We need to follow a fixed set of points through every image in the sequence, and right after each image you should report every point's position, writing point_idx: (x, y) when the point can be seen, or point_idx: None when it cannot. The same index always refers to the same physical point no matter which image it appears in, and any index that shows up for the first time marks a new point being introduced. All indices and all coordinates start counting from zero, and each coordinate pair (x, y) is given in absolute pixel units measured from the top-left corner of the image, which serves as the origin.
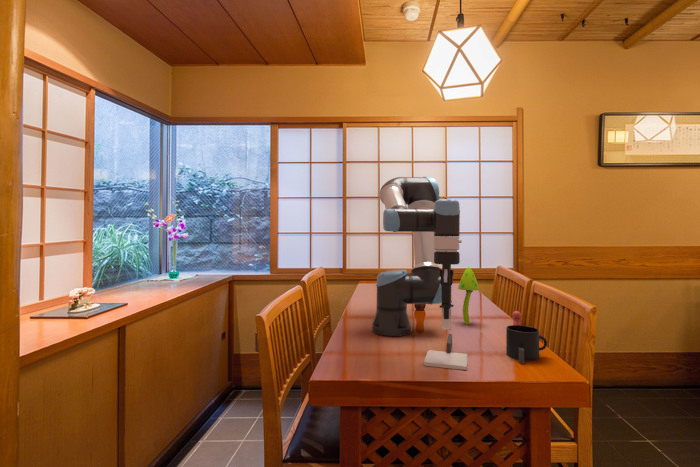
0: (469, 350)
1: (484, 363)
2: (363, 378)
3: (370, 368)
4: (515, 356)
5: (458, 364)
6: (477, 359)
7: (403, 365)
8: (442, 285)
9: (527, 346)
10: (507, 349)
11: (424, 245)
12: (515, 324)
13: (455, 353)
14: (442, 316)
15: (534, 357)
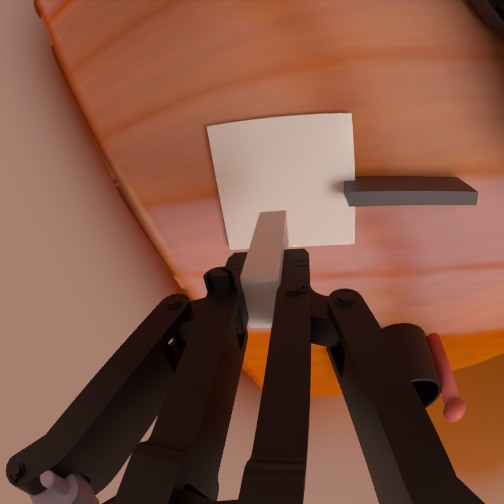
0: (421, 242)
1: (310, 282)
2: (64, 43)
3: (119, 12)
4: None
5: (236, 227)
6: (340, 265)
7: (181, 70)
8: (62, 425)
9: None
10: (393, 336)
11: None
12: (444, 389)
13: (346, 209)
14: (250, 248)
15: None
